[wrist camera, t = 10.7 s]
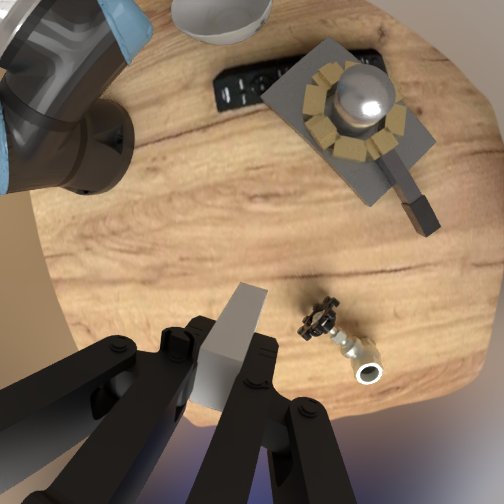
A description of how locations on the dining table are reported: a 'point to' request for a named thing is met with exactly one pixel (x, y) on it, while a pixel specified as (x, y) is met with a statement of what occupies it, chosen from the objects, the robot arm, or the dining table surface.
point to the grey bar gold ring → (368, 144)
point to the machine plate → (345, 169)
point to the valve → (344, 342)
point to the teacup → (220, 19)
